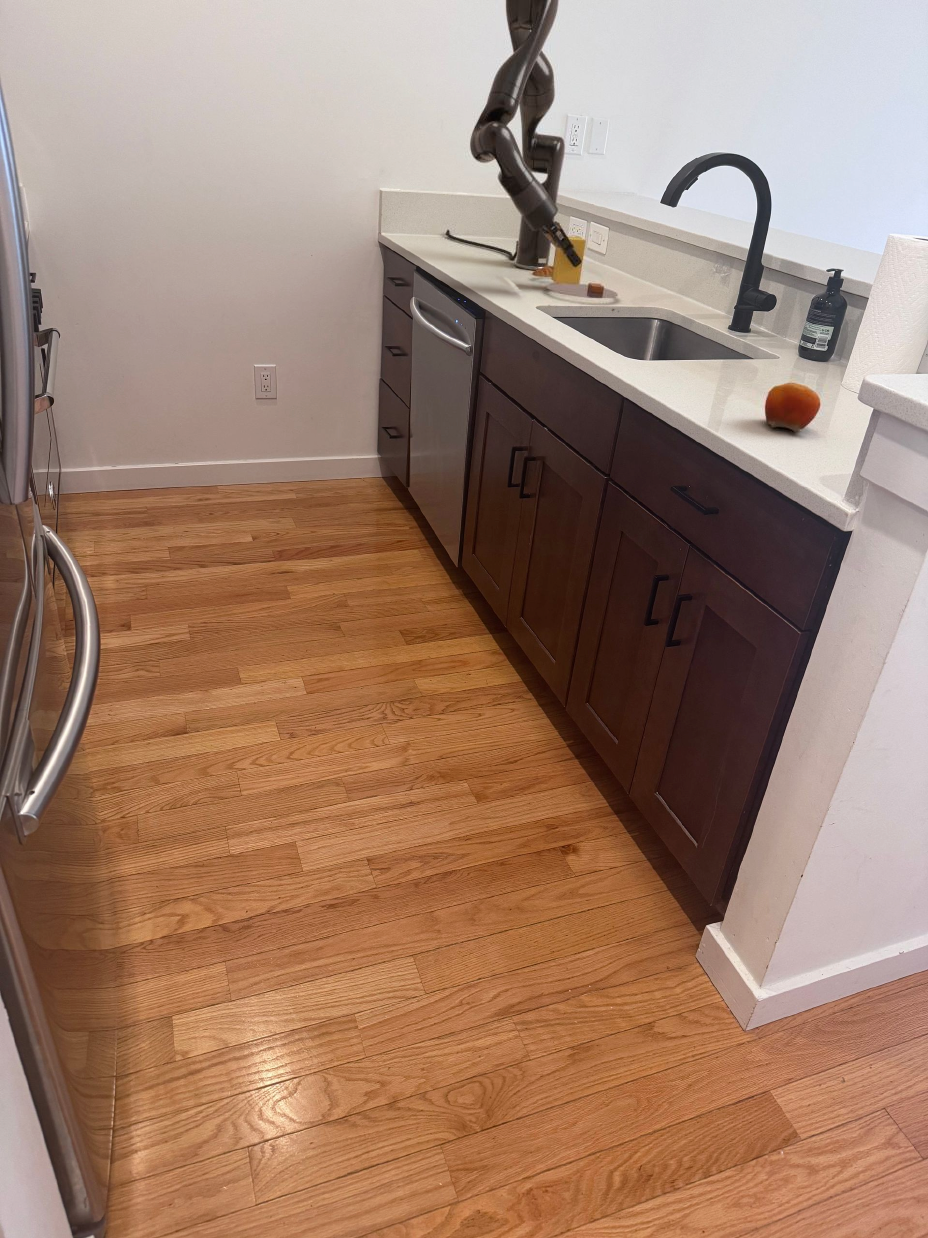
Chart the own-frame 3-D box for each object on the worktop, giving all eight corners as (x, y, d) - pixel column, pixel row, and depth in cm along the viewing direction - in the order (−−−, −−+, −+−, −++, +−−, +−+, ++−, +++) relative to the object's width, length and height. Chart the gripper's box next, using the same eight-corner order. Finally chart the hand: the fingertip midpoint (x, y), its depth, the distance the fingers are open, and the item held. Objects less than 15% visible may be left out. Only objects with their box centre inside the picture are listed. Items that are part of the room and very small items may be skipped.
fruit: (759, 422, 133) (773, 372, 133) (755, 436, 141) (769, 388, 141) (814, 433, 131) (828, 381, 131) (807, 446, 139) (821, 397, 139)
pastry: (542, 283, 229) (544, 268, 227) (525, 278, 233) (526, 263, 231) (567, 282, 234) (570, 267, 232) (550, 277, 238) (552, 262, 237)
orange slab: (587, 288, 220) (588, 282, 219) (599, 289, 220) (600, 283, 219) (591, 292, 216) (592, 285, 216) (603, 292, 217) (604, 286, 216)
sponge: (551, 279, 216) (557, 235, 210) (574, 280, 216) (581, 237, 211) (555, 282, 212) (561, 237, 207) (579, 284, 213) (586, 240, 208)
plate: (538, 286, 225) (539, 280, 224) (605, 291, 227) (606, 285, 227) (553, 301, 209) (554, 294, 209) (625, 306, 212) (626, 300, 211)
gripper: (553, 195, 197) (595, 256, 205) (540, 188, 209) (581, 247, 217) (527, 218, 199) (570, 278, 207) (515, 211, 211) (557, 268, 219)
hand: (575, 262), depth 212 cm, fingers closed on sponge, 4 cm apart
